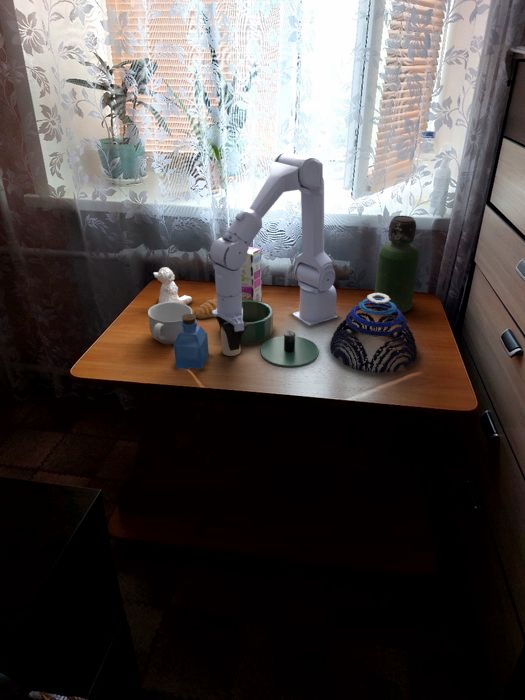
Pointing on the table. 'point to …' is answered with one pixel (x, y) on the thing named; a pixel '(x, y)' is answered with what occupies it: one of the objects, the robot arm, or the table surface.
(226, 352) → the salt shaker
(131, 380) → the table surface
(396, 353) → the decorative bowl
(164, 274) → the seated beast figurine
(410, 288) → the green bottle
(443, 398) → the table surface
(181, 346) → the perfume bottle
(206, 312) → the pastry
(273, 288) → the table surface
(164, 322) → the teacup
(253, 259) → the candy bar box
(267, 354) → the lid
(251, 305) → the pot
